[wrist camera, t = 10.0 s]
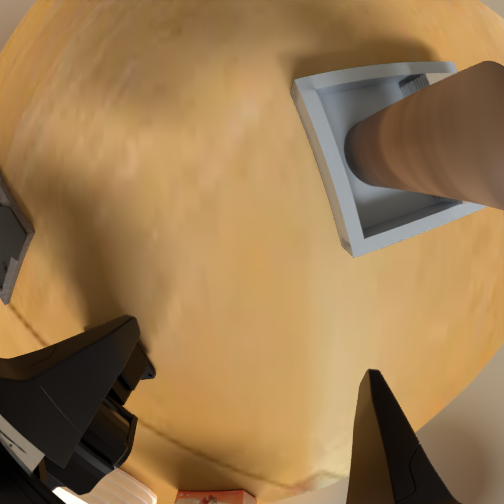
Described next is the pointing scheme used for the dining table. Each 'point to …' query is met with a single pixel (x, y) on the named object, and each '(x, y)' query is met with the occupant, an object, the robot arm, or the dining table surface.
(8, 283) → the picture frame
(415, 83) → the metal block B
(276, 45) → the dining table surface
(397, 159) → the walnut dowel
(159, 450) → the dining table surface
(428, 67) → the parts tray
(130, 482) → the plate stack
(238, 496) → the cracker box
